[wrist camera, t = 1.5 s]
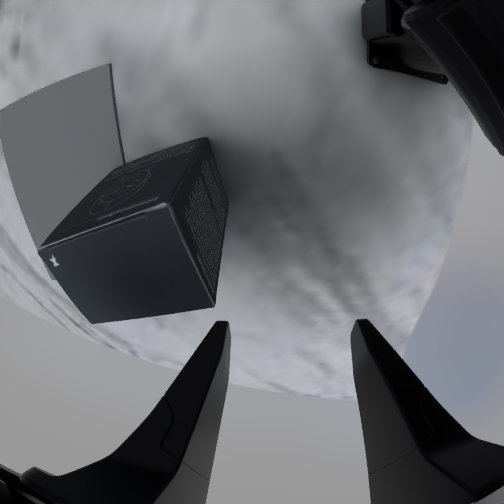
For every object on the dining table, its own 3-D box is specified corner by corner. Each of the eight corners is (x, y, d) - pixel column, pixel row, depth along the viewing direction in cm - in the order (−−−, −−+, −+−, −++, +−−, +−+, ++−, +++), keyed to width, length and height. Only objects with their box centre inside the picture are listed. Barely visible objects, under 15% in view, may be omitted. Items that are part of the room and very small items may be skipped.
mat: (110, 63, 15) (109, 63, 14) (156, 283, 26) (155, 285, 26) (-3, 111, 15) (-5, 112, 15) (53, 278, 27) (51, 279, 27)
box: (141, 228, 22) (90, 327, 14) (113, 167, 19) (32, 248, 11) (231, 205, 21) (217, 312, 13) (209, 134, 18) (167, 201, 9)
